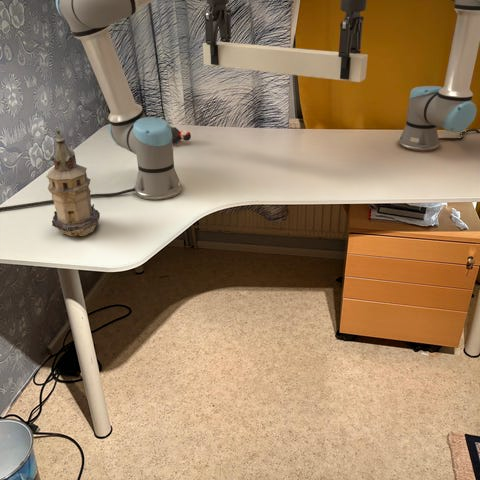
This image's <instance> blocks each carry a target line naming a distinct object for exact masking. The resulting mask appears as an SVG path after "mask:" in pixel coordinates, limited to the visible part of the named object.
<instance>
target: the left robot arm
mask: <svg viewBox="0 0 480 480" xmlns="http://www.w3.org/2000/svg"><path fill="white" fill-rule="evenodd" d="M155 1H156V0H55V7H56V10H57V12H58V14H59V16H60V17H61V18H62V19H63V20H64V21H65V22H67V24H68V27H69V29H70V31H71V33H72V35H73V37H74V38H75V39H78V40H79V41H81V44H82V47H83V49H84V52H85V53H86V54H85V55H86V56H87V59H88V61H89V63H90V66H91V69H92V71H93V73H94V74H95V78H96V81H97V83H98V86H99V88H100V90H101V92H102V94H103V97H104V100H105V102H106V104H107V107H108V110H109V115H108V117H107V119H108V121H109V127H108V129H109V130H108V131H109V134H110V138H112V140H113V141H114V142H115V144H116V145H118V146H119V147H120V148H122V149H125V150H127V151H129V152H131V153H132V154H134V155H135V156H136V161H137V175H136V179H135V184H134V187H133V188H129V189H125V190H121V191H117V192H109V193H106V192H105V193H90V197H91V198H99V197H101V198H102V197H116V196H121V195H123V194H128V193H132V192H134V193H135V195H136V196H137V197H138V198H141V199H143V200H148V201H161V200H168V199H171V198H174V197H176V196H178V195H179V194H180V193H181V192H182V182H181V180H180V177H179V176H178V173H177V171H176V169H175V161H174V160H175V159H174V158H175V157H174V145H173V144H172V132H171V127H172V126H171V124H170V123H169V122H168V121H167V120H166V119H164V118H161V117H155V116H146V113H145V111H144V109H143V106H142V105H141V104H139V103H137V102H136V100H135V98H134V95H133V92H132V89H131V87H130V85H129V82H128V80H127V77H126V74H125V71H124V69H123V67H122V63H121V60H120V59H119V56H118V53H117V50H116V47H115V45H114V43H113V39H112V37H111V34H110V32H109V31H110V29H111V26H112V25H113V24H115V23H117V22H120V21H122V20H124V19H126V18H128V17H131V16H133V15H135V14H136V13H137V9H139V8H141V7H143V6H145V5H146V6H147V5H148V4H151V3H152V2H155ZM229 3H230V0H206V4H207V5H209V9H208V12H204V13H203V17H204V24H205V43H206V44H207V45H210V54H211V64H212V65H219V63H218V45H216V44H217V42H218V32H219V36H220V42H228V43H231V39H232V17H231V16H232V9H228V7H227V5H228V4H229ZM170 126H171V127H170ZM47 204H54V201H53V200H52V199H49V200H42V201H35V202H29V203H22V204H15V205H8V206H0V211H6V210H13V209H19V208H20V209H21V208H27V207H28V208H29V207H34V206H41V205H47Z"/></svg>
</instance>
